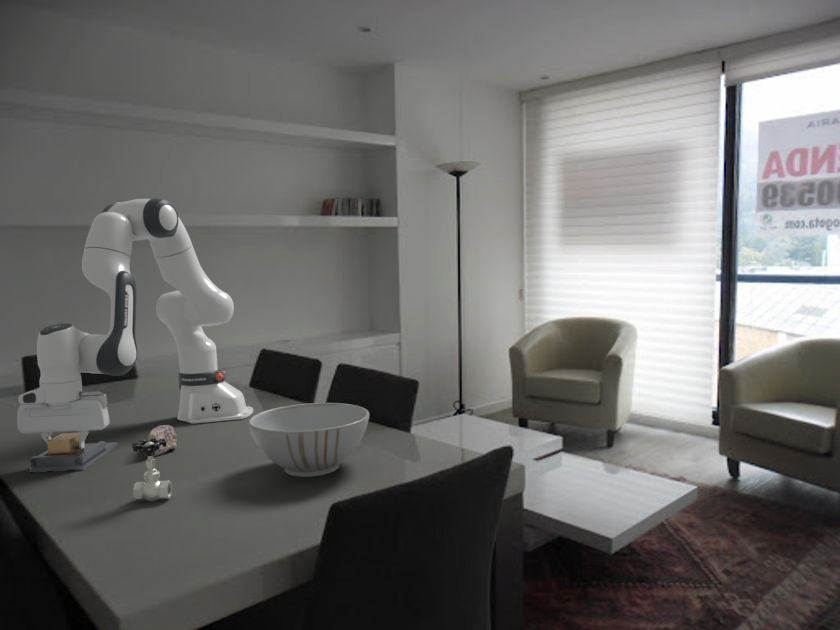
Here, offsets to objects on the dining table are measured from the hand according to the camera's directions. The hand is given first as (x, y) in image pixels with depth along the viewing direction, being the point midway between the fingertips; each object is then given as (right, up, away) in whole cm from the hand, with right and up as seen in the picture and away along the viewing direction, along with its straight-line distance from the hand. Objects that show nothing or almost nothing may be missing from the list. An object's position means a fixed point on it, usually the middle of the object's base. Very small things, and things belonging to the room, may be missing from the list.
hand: (66, 449), depth 161 cm
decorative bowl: (+61, -3, -9) cm, 61 cm away
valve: (+32, -5, -27) cm, 42 cm away
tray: (0, -3, +5) cm, 6 cm away
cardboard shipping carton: (0, -2, 0) cm, 2 cm away
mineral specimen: (+19, -3, +9) cm, 21 cm away
